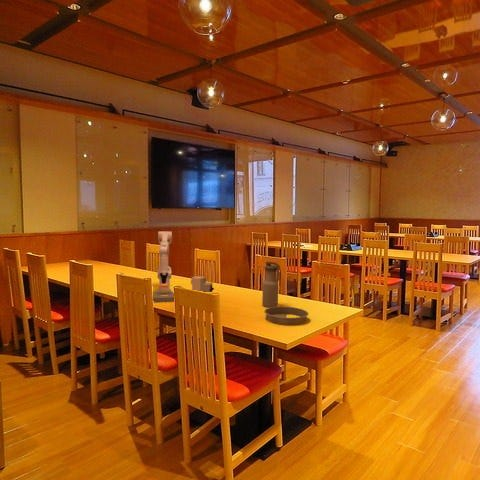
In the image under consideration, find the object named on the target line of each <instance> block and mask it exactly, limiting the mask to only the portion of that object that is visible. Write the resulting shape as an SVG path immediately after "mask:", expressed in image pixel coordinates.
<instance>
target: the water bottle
mask: <svg viewBox="0 0 480 480" xmlns="http://www.w3.org/2000/svg"><path fill="white" fill-rule="evenodd" d="M265 264H266V265H265V268H264V269H265V270H264V271H265V280H264V281H263V283H262V300H261V303H262V307H263V308H264V307H265V308H271V307H279V305H278V304H279V281H280V269H281V268H280V267H281V265H280V264H279V263H278V262H276V261H269V260H268V261H265Z"/></svg>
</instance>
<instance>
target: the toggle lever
mask: <svg viewBox="0 0 480 480" xmlns="http://www.w3.org/2000/svg"><path fill="white" fill-rule="evenodd" d="M164 293H168V284H161V294H164Z"/></svg>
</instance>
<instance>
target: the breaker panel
mask: <svg viewBox="0 0 480 480" xmlns="http://www.w3.org/2000/svg"><path fill="white" fill-rule="evenodd" d="M152 292H153V301H154V303H175V302H174V293H173V291H172V289H171V288H170V289H168V293H164V294H161V292H160V290H159V289H157V290H156V291H152Z"/></svg>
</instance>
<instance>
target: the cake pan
mask: <svg viewBox="0 0 480 480" xmlns="http://www.w3.org/2000/svg"><path fill="white" fill-rule="evenodd" d="M263 312H264V314H265V316H266V319H267V321H268V322H271V323H273V324H277V325H278V324H279V325H287V326H289V325H292V326H293V325H300V324H302V323H305V322H306V320H307V319H306V318H307V317H308V316H309V312H308V311H306V310H305V309H302V308H298V307H296V306H295V307H293V306H277V307H271V308H269V307H266V308H265V309H264V311H263ZM289 315H290V316H297V317H287V316H289Z"/></svg>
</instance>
